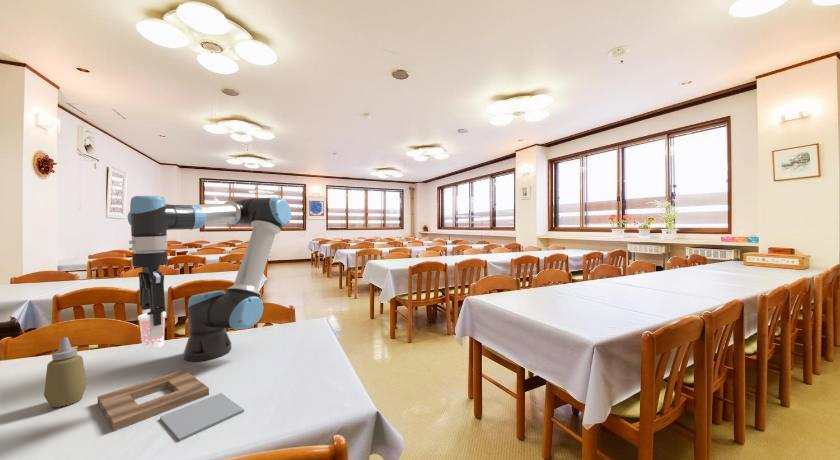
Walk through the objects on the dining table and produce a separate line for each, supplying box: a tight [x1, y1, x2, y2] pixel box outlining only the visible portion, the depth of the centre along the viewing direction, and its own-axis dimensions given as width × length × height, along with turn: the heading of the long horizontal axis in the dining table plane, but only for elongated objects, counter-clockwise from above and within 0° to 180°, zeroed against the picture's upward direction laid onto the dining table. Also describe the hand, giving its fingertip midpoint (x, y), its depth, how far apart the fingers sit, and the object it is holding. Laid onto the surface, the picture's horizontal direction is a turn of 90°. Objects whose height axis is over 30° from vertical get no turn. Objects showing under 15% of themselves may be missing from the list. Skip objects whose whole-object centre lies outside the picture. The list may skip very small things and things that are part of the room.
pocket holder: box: [97, 369, 210, 432], centre depth 90 cm, size 20×20×2 cm
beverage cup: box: [137, 311, 167, 350], centre depth 90 cm, size 6×6×14 cm
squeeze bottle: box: [43, 337, 88, 408], centre depth 89 cm, size 8×8×18 cm
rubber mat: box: [159, 392, 245, 442], centre depth 82 cm, size 14×14×1 cm
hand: (153, 334), depth 90 cm, fingers closed on beverage cup, 6 cm apart
